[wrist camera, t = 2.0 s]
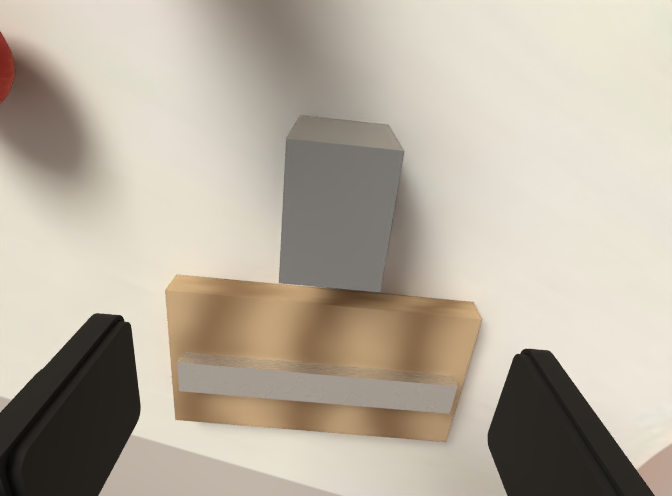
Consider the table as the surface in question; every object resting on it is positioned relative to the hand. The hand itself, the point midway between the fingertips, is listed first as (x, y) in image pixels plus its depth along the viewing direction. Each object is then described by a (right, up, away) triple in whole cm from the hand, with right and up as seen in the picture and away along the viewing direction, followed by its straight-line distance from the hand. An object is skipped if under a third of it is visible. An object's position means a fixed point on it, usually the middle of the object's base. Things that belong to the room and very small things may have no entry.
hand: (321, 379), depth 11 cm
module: (+1, +7, +15) cm, 17 cm away
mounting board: (-1, -4, +21) cm, 21 cm away
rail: (-1, -5, +19) cm, 19 cm away
